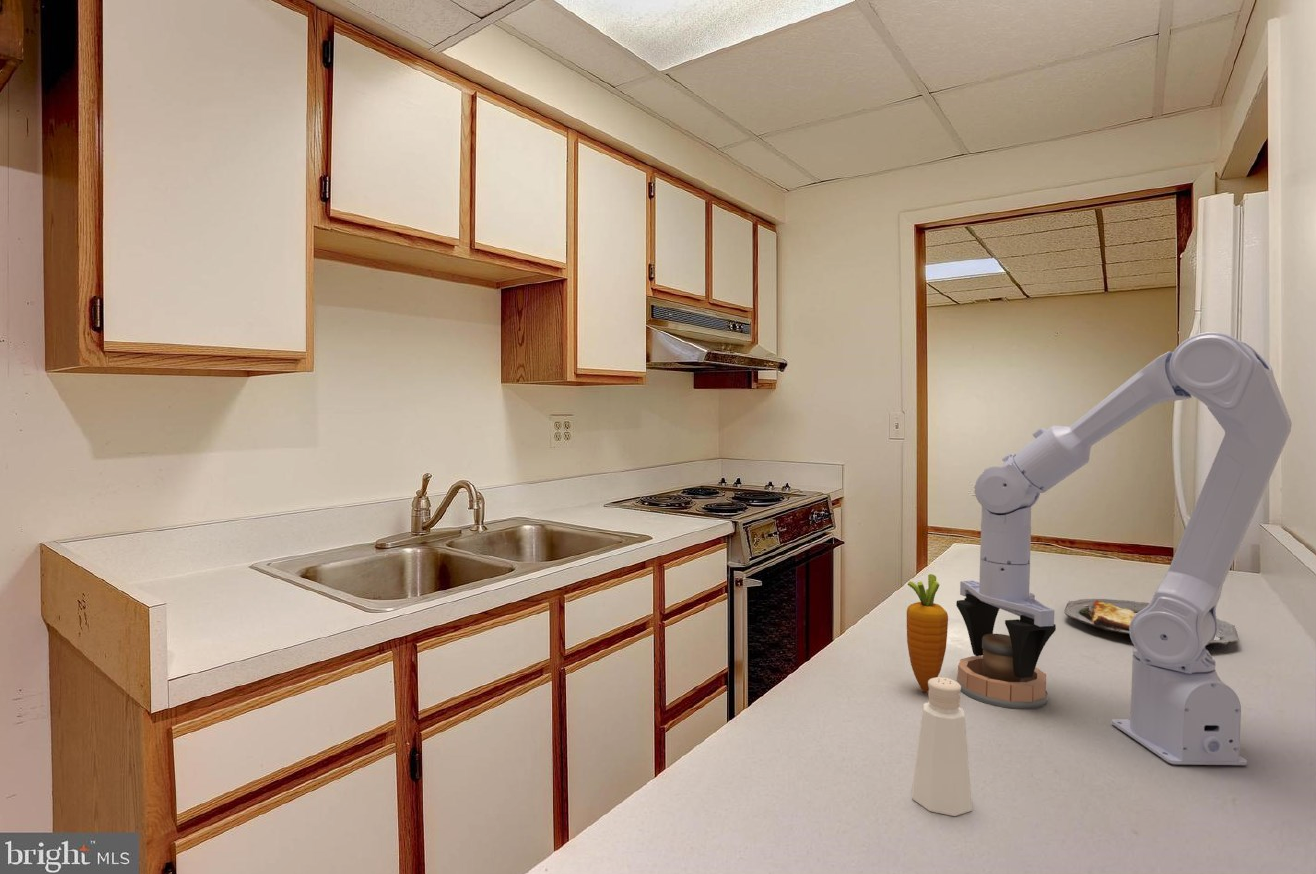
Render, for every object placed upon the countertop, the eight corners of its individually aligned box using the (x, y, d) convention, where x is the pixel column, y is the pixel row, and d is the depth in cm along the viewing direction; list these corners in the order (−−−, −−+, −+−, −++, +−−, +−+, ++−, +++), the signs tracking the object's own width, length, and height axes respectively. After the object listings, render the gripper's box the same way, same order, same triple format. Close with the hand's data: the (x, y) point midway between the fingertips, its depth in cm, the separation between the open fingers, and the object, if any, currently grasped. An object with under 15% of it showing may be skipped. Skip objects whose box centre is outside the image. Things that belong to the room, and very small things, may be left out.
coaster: (1065, 709, 83) (1066, 686, 83) (979, 708, 83) (980, 685, 83) (1019, 676, 93) (1020, 656, 93) (943, 675, 93) (944, 655, 93)
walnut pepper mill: (1030, 691, 86) (1031, 644, 86) (998, 694, 85) (999, 646, 85) (1003, 677, 91) (1005, 632, 90) (972, 679, 90) (974, 634, 89)
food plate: (1243, 666, 98) (1243, 641, 98) (1056, 634, 112) (1057, 612, 112) (1231, 628, 118) (1232, 608, 118) (1074, 605, 132) (1074, 587, 132)
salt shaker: (956, 783, 66) (959, 670, 65) (985, 816, 60) (988, 693, 60) (900, 784, 65) (903, 670, 65) (924, 817, 60) (928, 694, 60)
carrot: (920, 702, 84) (923, 581, 84) (896, 686, 89) (899, 572, 89) (955, 698, 86) (958, 579, 85) (929, 683, 90) (931, 570, 90)
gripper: (1077, 571, 81) (1073, 684, 81) (992, 548, 95) (989, 644, 96) (1026, 574, 79) (1023, 689, 80) (947, 549, 94) (945, 647, 94)
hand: (1001, 665), depth 88 cm, fingers open, 7 cm apart
